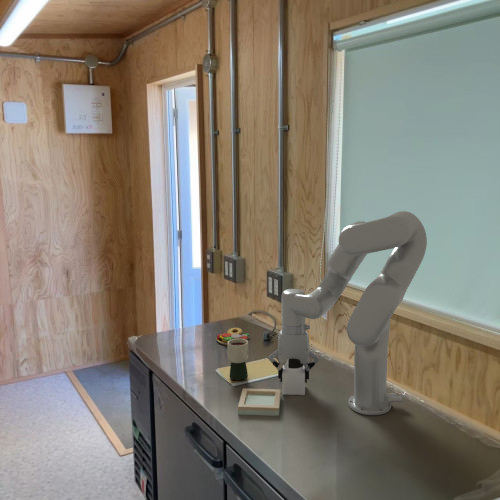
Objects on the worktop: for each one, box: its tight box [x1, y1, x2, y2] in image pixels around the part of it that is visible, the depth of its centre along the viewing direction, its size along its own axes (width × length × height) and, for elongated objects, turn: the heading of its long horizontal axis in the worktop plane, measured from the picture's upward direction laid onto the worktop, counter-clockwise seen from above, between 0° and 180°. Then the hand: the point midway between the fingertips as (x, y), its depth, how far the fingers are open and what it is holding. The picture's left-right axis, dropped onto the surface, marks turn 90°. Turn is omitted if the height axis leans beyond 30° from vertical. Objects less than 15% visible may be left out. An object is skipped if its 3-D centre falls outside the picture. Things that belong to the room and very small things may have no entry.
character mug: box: [226, 339, 250, 381], centre depth 179 cm, size 11×7×13 cm, turn 25°
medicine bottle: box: [281, 359, 306, 396], centre depth 169 cm, size 7×7×12 cm
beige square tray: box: [237, 387, 282, 417], centre depth 160 cm, size 12×12×2 cm
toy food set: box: [215, 327, 250, 346], centre depth 216 cm, size 13×13×3 cm
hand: (293, 380), depth 170 cm, fingers closed on medicine bottle, 7 cm apart
